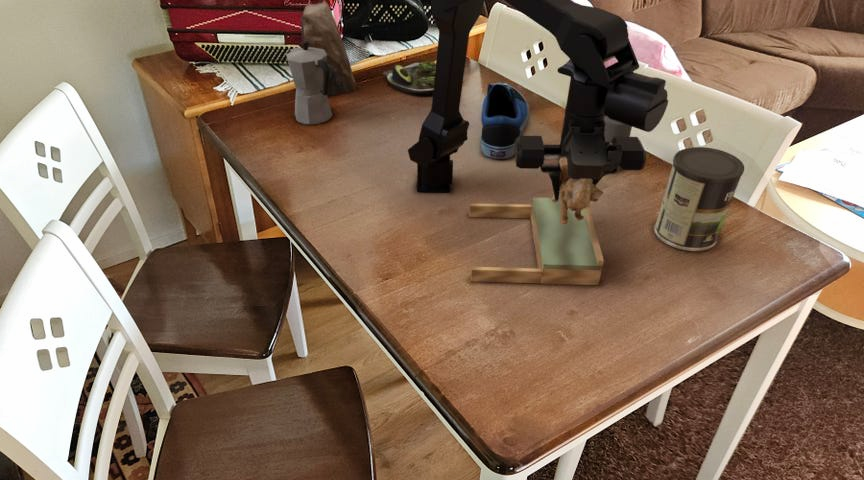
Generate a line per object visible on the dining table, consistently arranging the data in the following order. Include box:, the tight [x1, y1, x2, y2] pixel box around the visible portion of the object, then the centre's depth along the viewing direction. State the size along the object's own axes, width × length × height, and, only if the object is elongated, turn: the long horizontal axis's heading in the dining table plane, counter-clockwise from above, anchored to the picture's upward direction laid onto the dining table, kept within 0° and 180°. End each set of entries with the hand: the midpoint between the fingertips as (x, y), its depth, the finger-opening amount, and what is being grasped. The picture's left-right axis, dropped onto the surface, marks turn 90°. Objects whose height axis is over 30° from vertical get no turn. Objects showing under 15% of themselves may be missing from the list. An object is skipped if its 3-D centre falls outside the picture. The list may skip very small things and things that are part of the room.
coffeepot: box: [285, 40, 333, 126], centre depth 142 cm, size 15×9×18 cm, turn 37°
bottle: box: [604, 116, 633, 173], centre depth 121 cm, size 6×6×15 cm
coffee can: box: [653, 146, 745, 252], centre depth 103 cm, size 10×10×14 cm
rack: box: [469, 197, 605, 286], centre depth 104 cm, size 20×19×5 cm
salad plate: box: [382, 60, 436, 97], centre depth 161 cm, size 19×18×5 cm
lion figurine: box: [551, 161, 604, 224], centre depth 98 cm, size 15×5×9 cm, turn 6°
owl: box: [299, 0, 357, 97], centre depth 156 cm, size 13×13×20 cm
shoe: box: [480, 81, 530, 160], centre depth 136 cm, size 11×30×12 cm, turn 169°
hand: (569, 199), depth 99 cm, fingers closed on lion figurine, 4 cm apart
